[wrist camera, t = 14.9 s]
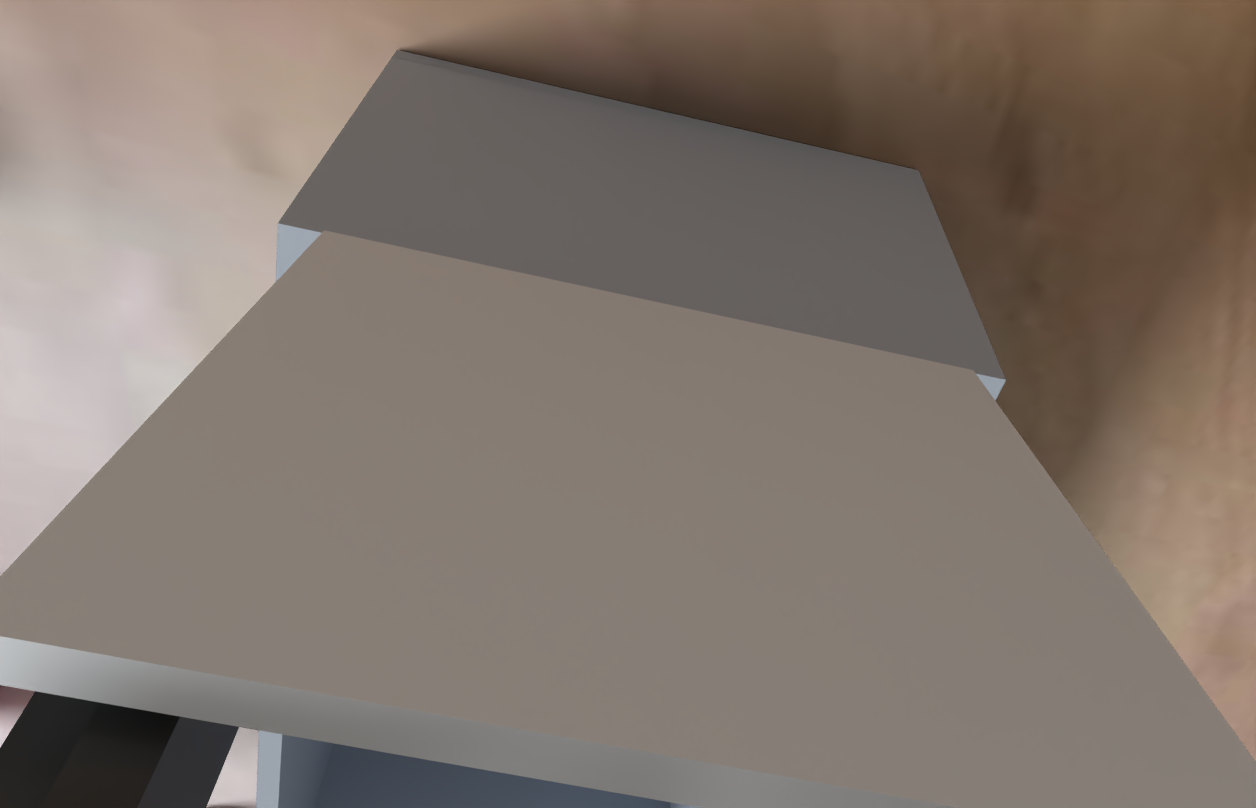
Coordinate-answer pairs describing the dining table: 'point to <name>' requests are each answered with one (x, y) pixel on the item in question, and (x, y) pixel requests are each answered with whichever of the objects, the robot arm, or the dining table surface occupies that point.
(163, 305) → the dining table surface
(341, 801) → the carton
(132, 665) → the flap
